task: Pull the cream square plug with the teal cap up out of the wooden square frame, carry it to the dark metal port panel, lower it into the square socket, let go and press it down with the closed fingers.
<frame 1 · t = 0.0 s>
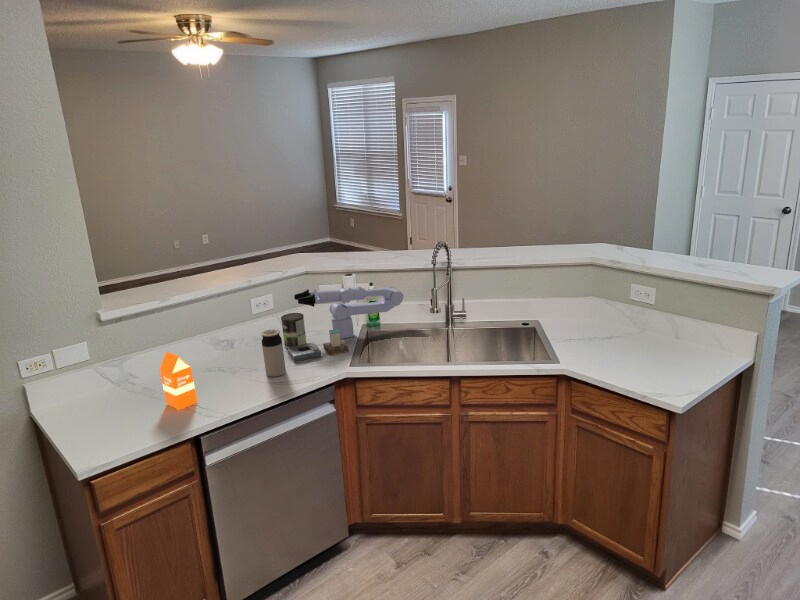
hand: (296, 299, 260), 22 cm above the countertop, tool horizontal, fingers open, 7 cm apart
wooden square frame: (336, 349, 256), on the countertop
travel mug: (276, 373, 235), on the countertop
port panel: (304, 355, 252), on the countertop
plug: (335, 340, 255), in the wooden square frame
coffee can: (295, 345, 265), on the countertop
orange juice: (182, 404, 214), on the countertop
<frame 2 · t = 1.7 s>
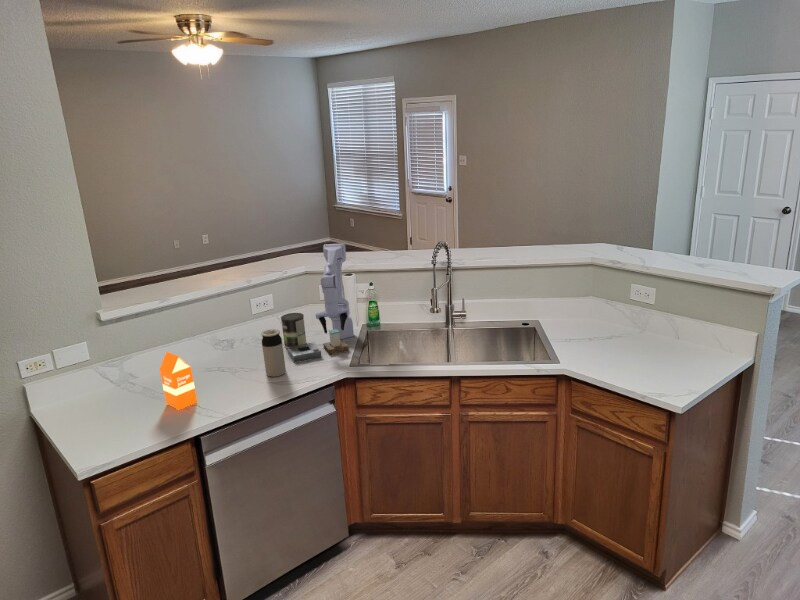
hand: (334, 331, 253), 9 cm above the countertop, tool pointing down, fingers open, 7 cm apart
nothing on the countertop moved.
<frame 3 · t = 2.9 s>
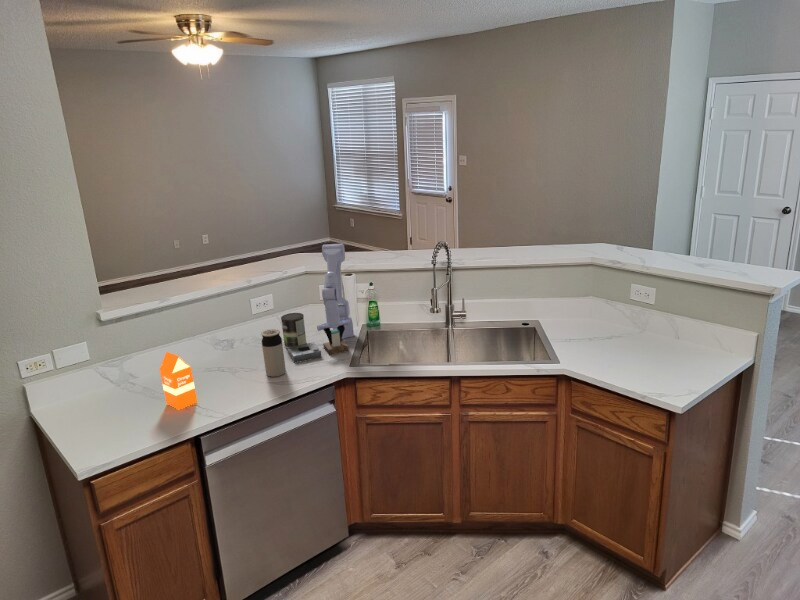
hand: (335, 342, 255), 3 cm above the countertop, tool pointing down, fingers closed on plug, 4 cm apart
plug: (335, 340, 255), in the wooden square frame, touching gripper
everything else where it was.
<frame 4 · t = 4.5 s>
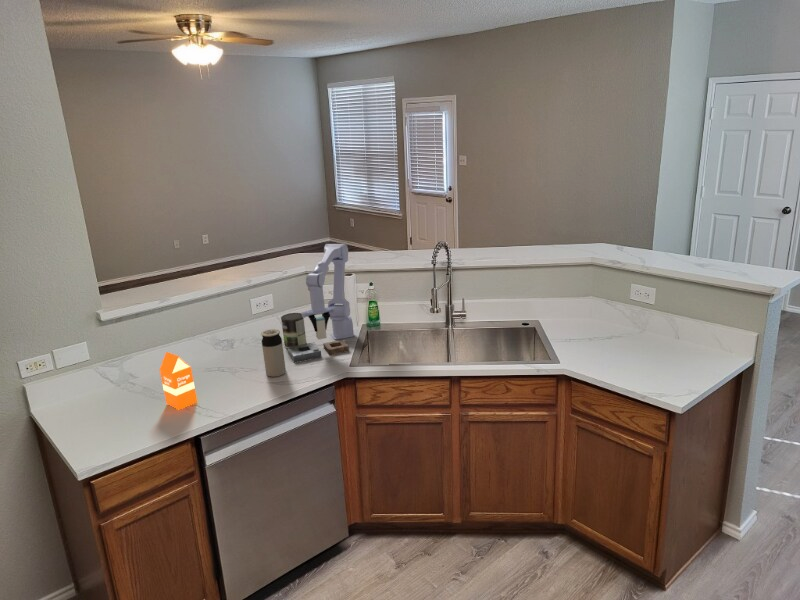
hand: (320, 330, 251), 10 cm above the countertop, tool pointing down, fingers closed on plug, 4 cm apart
plug: (320, 327, 251), point 12 cm above the countertop, touching gripper
everything else where it was.
when the fingers open (5 cm above the countertop, at t = 6.4 s): plug drops 1 cm, resting in port panel.
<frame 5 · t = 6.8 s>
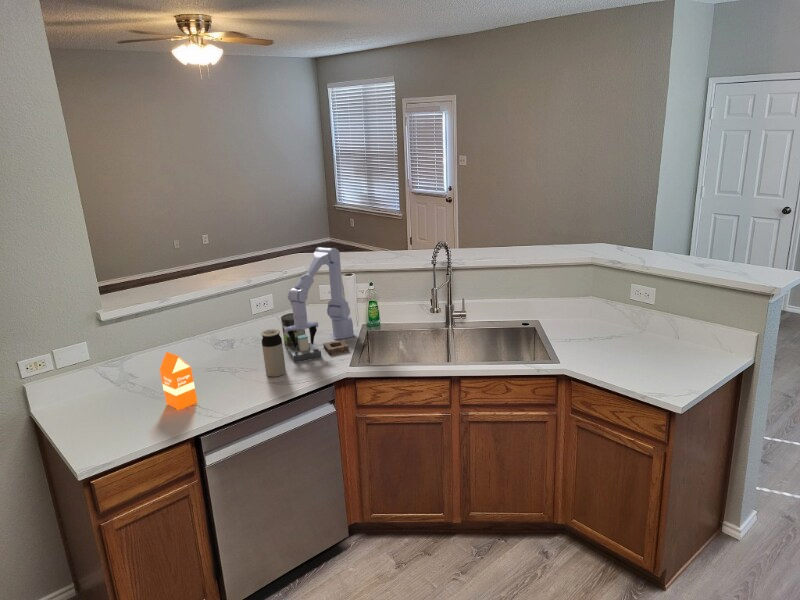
hand: (303, 345, 251), 5 cm above the countertop, tool pointing down, fingers open, 7 cm apart
plug: (303, 346, 251), in the port panel
everything else where it was.
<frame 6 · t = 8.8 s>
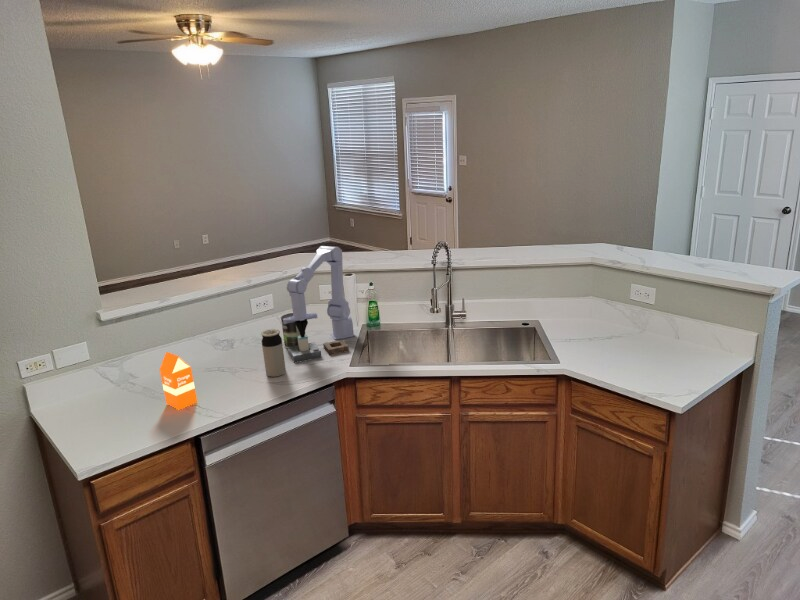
hand: (302, 336, 249), 9 cm above the countertop, tool pointing down, fingers closed, pressing on plug
plug: (303, 346, 251), in the port panel, touching gripper
everything else where it was.
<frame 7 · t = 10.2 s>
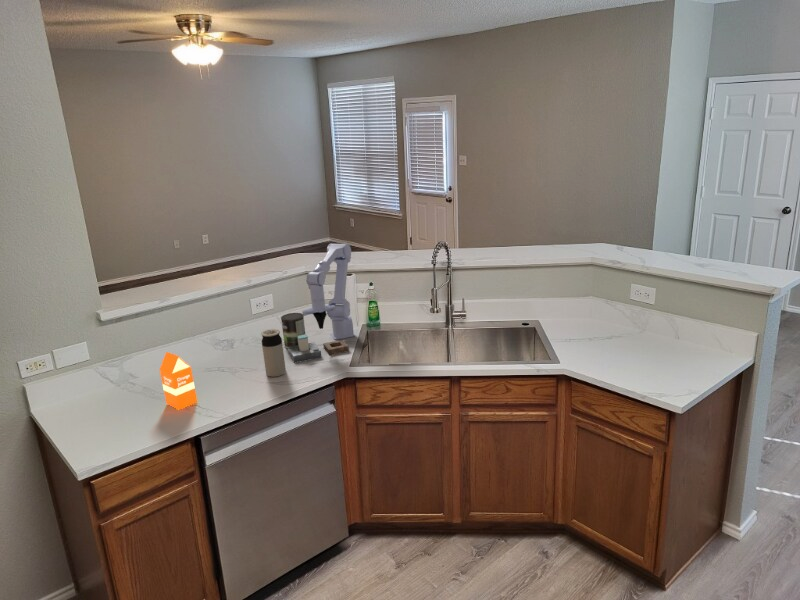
hand: (321, 328, 254), 10 cm above the countertop, tool pointing down, fingers closed
plug: (303, 346, 251), in the port panel
everything else where it was.
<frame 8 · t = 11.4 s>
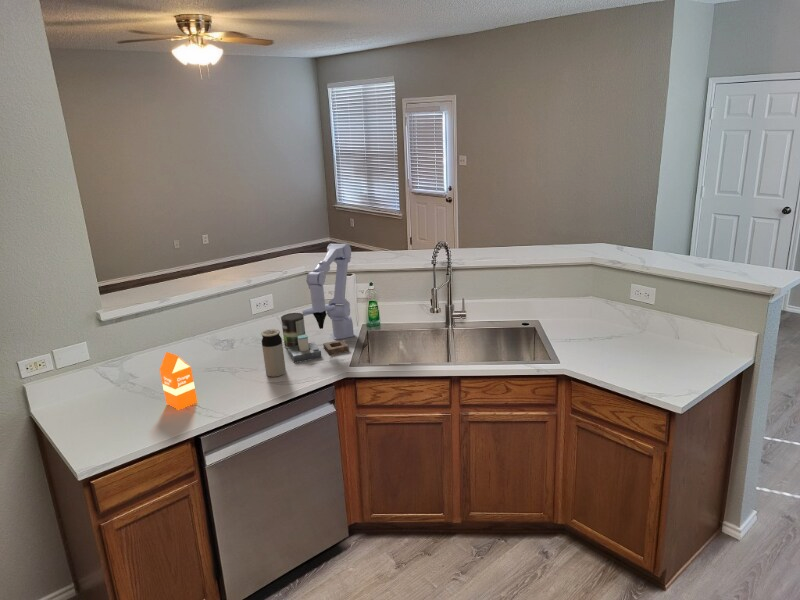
hand: (321, 328, 254), 10 cm above the countertop, tool pointing down, fingers closed
nothing on the countertop moved.
at the end: plug 0.1 cm off-centre on the port panel, point 4.5 cm above the port panel's base; plug tilted 0°; the gripper is holding nothing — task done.
